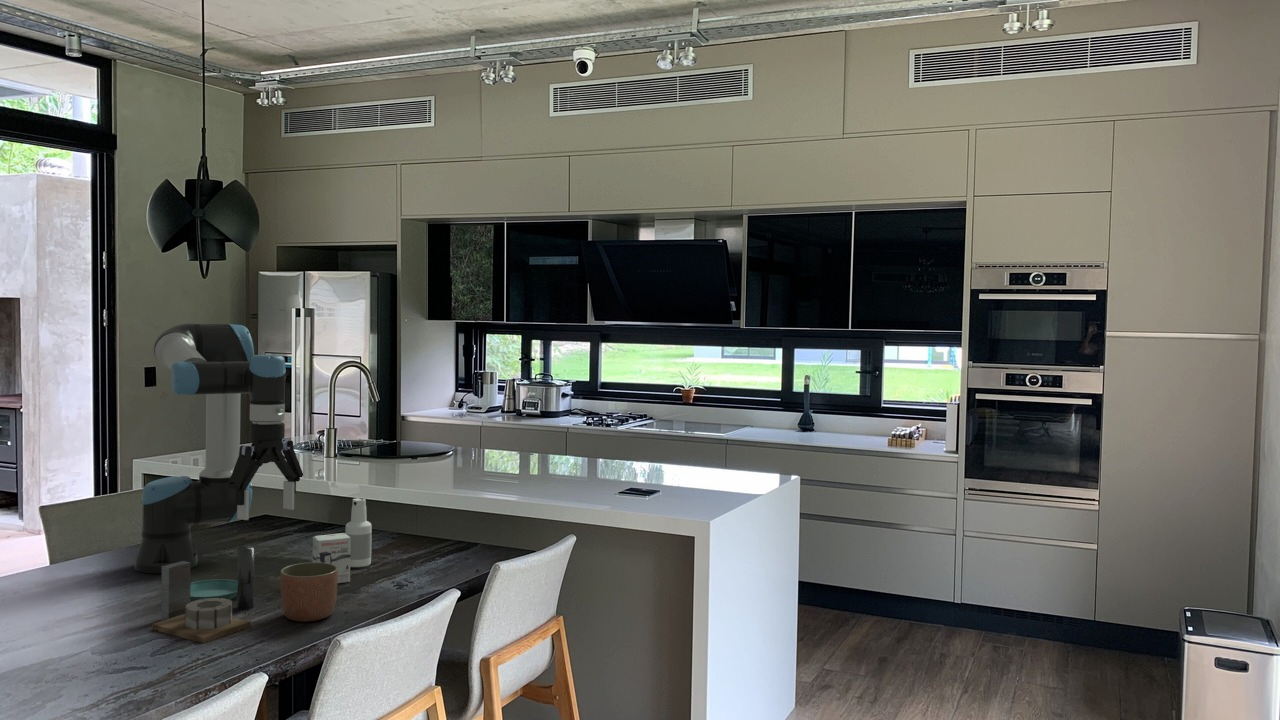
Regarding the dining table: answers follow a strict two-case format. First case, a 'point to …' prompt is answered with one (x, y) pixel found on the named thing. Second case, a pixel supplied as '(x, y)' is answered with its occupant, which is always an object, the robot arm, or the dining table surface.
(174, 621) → the socket board
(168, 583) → the grey rectangular block
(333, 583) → the planter
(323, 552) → the ink box
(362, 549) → the spray bottle
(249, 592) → the cylinder
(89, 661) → the dining table surface
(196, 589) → the saucer
